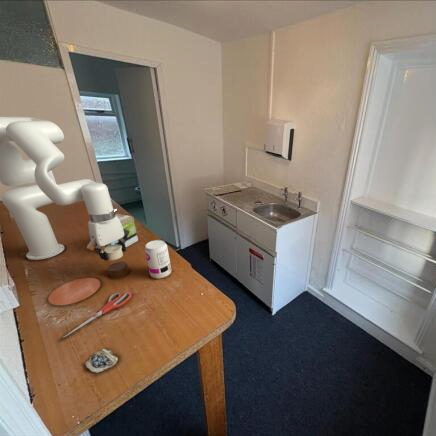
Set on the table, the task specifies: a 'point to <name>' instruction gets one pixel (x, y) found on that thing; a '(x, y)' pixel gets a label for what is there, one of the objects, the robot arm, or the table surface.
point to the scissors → (107, 307)
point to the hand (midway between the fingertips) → (114, 254)
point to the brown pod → (118, 269)
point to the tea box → (128, 225)
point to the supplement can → (158, 259)
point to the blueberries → (101, 361)
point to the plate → (74, 291)
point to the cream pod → (114, 251)
